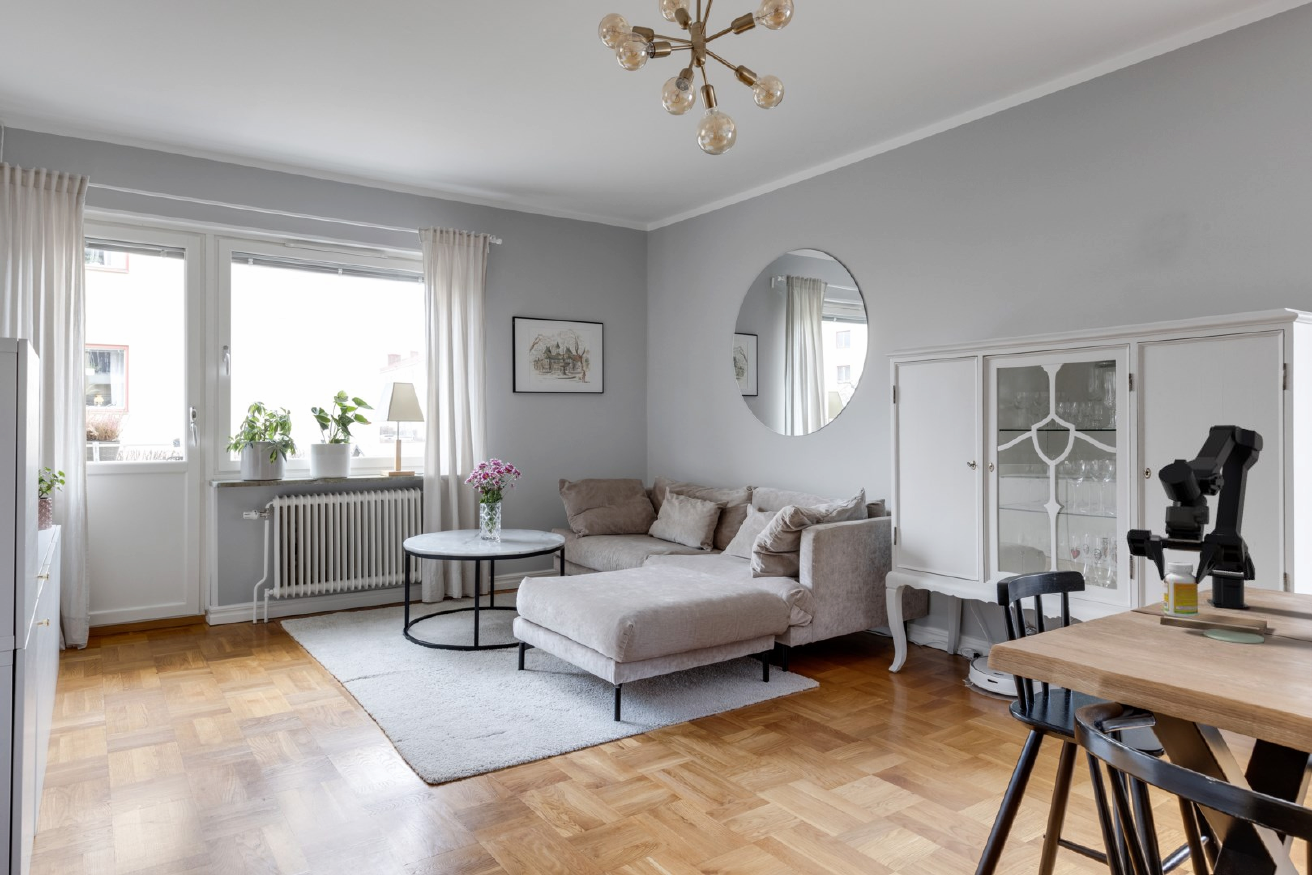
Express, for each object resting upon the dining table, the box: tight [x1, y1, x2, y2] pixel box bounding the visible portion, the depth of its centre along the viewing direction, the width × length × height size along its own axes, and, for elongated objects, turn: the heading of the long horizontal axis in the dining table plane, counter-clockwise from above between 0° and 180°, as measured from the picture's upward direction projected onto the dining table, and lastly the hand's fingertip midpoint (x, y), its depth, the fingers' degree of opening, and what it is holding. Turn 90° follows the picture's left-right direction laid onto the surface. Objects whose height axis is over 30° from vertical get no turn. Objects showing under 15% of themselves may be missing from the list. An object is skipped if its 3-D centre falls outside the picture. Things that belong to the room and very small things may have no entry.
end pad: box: [1203, 629, 1265, 644], centre depth 147 cm, size 9×9×1 cm
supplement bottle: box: [1163, 561, 1199, 617], centre depth 152 cm, size 5×5×10 cm
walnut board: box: [1159, 612, 1268, 637], centre depth 156 cm, size 16×10×1 cm, turn 48°
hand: (1179, 580), depth 151 cm, fingers closed on supplement bottle, 5 cm apart
